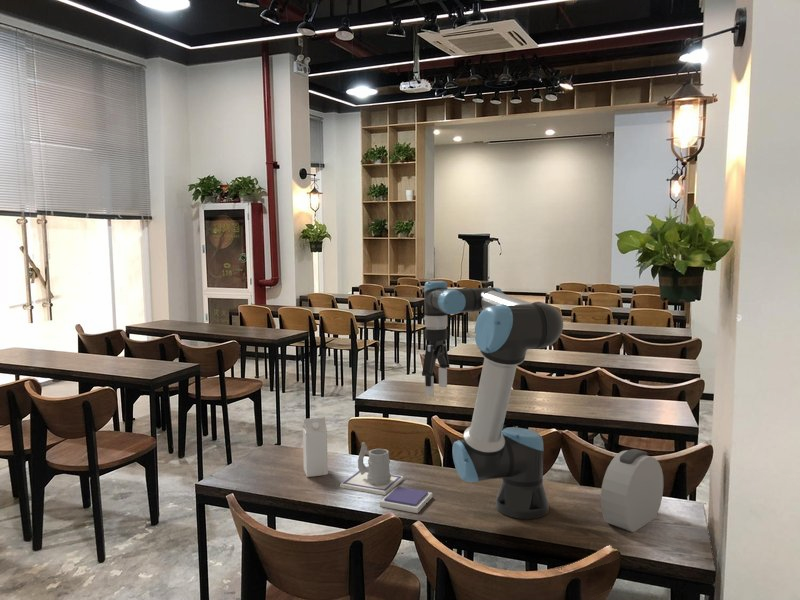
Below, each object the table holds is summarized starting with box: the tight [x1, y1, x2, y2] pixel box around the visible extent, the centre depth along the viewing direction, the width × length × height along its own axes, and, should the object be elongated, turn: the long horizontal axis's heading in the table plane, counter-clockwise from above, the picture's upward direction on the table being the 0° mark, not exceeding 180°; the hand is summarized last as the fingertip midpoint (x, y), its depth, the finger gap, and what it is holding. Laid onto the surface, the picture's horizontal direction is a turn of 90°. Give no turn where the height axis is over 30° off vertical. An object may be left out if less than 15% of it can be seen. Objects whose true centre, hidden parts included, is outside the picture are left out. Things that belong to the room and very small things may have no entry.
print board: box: [339, 470, 404, 496], centre depth 199 cm, size 16×14×1 cm
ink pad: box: [379, 486, 433, 514], centre depth 184 cm, size 12×12×2 cm
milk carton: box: [302, 416, 329, 478], centre depth 208 cm, size 7×7×19 cm
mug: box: [357, 442, 391, 486], centre depth 198 cm, size 8×12×12 cm, turn 61°
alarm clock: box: [600, 448, 664, 533], centre depth 170 cm, size 21×8×20 cm, turn 131°
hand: (436, 391), depth 204 cm, fingers open, 13 cm apart
